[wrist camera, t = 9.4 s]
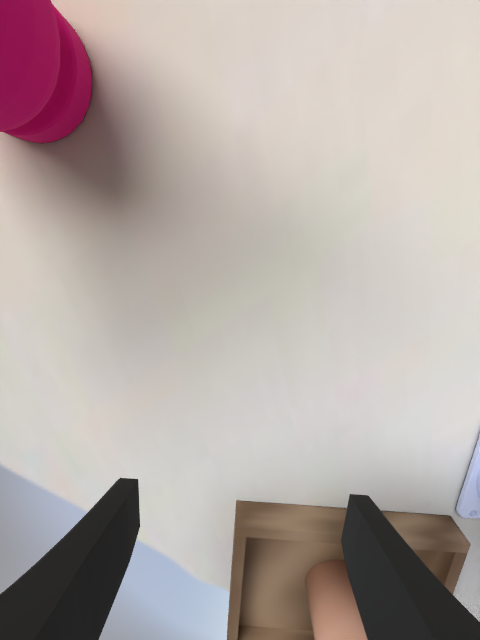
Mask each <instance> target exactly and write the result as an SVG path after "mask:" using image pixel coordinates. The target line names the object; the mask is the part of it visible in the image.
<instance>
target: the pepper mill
mask: <svg viewBox="0 0 480 640" xmlns="http://www.w3.org/2000/svg"><path fill="white" fill-rule="evenodd" d="M91 93H92V74H91V68H90V63H89V59H88V56H87V54H86V51H85V48H84V46H83V44H82V42H81V40H80V38H79V36H78V35H77V33H76V32H75V30H74V29H73V28H72V26H71V25H70V24H69V23H68V21H67V20H66V19H65V18H64V17H63V16H62V15H61V14H60V12H59V11H58V10H57V9H56V8H55V7H54V6H53V4H52V3H51V0H0V132H4V133H7V134H9V135H12V136H15V137H17V138H20V139H22V140H26V141H30V142H36V143H49V142H54V141H56V140H59V139H61V138H64V137H66V136H67V135H69V134H70V133H72V132H73V131H74V129H75V128H76V127H77V126H78V125H79V124H80V123H81V122H82V120H83V118H84V116H85V114H86V112H87V110H88V107H89V104H90V99H91Z"/></svg>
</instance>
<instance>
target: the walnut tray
mask: <svg viewBox="0 0 480 640" xmlns="http://www.w3.org/2000/svg"><path fill="white" fill-rule="evenodd" d="M346 512H347V508H333V507H319V506H305V505H291V504H277V503H263V502H249V501H236V514H235V528H234V542H233V556H232V570H231V584H230V599H229V614H228V629H227V640H315V639H314V633H313V627H312V622H311V616H310V610H309V604H308V598H307V593H306V587H305V578H306V575H307V573H308V572H309V571H310V570H311V569H312V568H313V567H314V566H316V565H318V564H320V563H322V562H326V561H331V560H339V561H345V559H344V554H343V549H342V544H341V537H342V532H343V527H344V522H345V517H346ZM381 512H382V513H383V515H384V516H385V517H386V518H387V519H388V521H389V522H390V523H391V524H392V526H393V527H394V528H395V529H396V531H397V532H398V533H399V534H400V535H401V537H402V538H403V539H404V540H405V542H406V543H407V544H408V545H409V546H410V547H411V549H412V550H413V551H414V552H415V553H416V554H417V556H418V557H419V558H420V559H421V560H422V561H423V563H424V564H425V565H426V566H427V567H428V568H429V569H430V571H431V572H432V573H433V574H434V575H435V576H436V577H437V578H438V580H439V581H440V582H441V583H442V584H443V585H444V586H445V587H446V588H447V589H448V590H449V591H450V592H451V594H452V595H453V592H454V589H455V586H456V584H457V581H458V578H459V575H460V572H461V569H462V567H463V564H464V561H465V558H466V555H467V552H468V550H469V547H470V543H469V542H468V540H467V539H466V537H465V536H464V535H463V533H462V532H461V530H460V529H459V527H458V526H457V525H456V523H455V522H454V520H453V519H452V517H451V516H445V515H431V514H417V513H403V512H389V511H381Z"/></svg>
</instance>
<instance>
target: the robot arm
mask: <svg viewBox="0 0 480 640" xmlns="http://www.w3.org/2000/svg"><path fill="white" fill-rule="evenodd" d="M456 512H457V513H458V514H459V516H460V517H463V518H475V519H480V435H479V438H478V441H477V445H476V448H475V451H474V454H473V457H472V460H471V463H470V466H469V469H468V472H467V476H466V479H465V482H464V485H463V488H462V491H461V494H460V497H459V500H458V503H457V507H456ZM139 527H140V515H139V490H138V479H127V478H120V479H119V480H117V481H116V482H115V484H114V485H113V486H112V487H111V488H110V489H109V490H108V491H107V492H106V494H105V495H104V496H103V497H102V498H101V499H100V500H99V501H98V502H97V503H96V504H95V505H94V507H93V508H92V509H91V510H90V511H89V512H88V513H87V514H86V515H85V516H84V517H83V518H82V519H81V520H80V521H79V522H78V523H77V524H76V525H75V526H74V527H73V528H72V529H71V530H70V532H68V533H67V534H66V535H65V536H64V538H62V539H61V540H60V541H59V542H58V543H57V544H56V545H55V546H54V547H53V548H52V549H51V550H50V551H49V552H48V553H46V554H45V555H44V557H42V558H41V559H40V560H39V561H38V562H37V563H36V564H35V565H34V566H33V567H31V568H30V569H29V570H28V571H27V572H26V573H25V574H24V575H22V576H21V577H20V578H19V579H18V580H17V581H16V582H14V583H13V584H12V585H11V586H10V587H9V588H7V589H6V590H5V591H4V592H2V593H1V594H0V640H98V639H99V637H100V635H101V632H102V629H103V627H104V624H105V622H106V619H107V617H108V615H109V612H110V610H111V607H112V604H113V602H114V599H115V597H116V595H117V592H118V589H119V587H120V585H121V582H122V579H123V577H124V574H125V572H126V569H127V567H128V564H129V562H130V558H131V555H132V552H133V548H134V545H135V542H136V538H137V535H138V531H139ZM341 544H342V549H343V554H344V559H345V564H346V569H347V573H348V578H349V581H350V584H351V588H352V591H353V594H354V597H355V601H356V604H357V607H358V610H359V614H360V617H361V620H362V623H363V626H364V630H365V633H366V636H367V639H368V640H480V622H479V621H478V620H477V619H476V618H475V617H474V616H473V615H472V614H471V613H470V612H469V611H468V610H467V609H466V608H465V607H464V606H463V605H462V604H461V603H460V602H459V601H458V600H457V599H456V598H455V597H454V596H453V595H452V594H451V592H450V591H449V590H448V589H447V588H446V587H445V586H444V585H443V584H442V583H441V582H440V581H439V580H438V578H437V577H436V576H435V575H434V574H433V573H432V572H431V571H430V569H429V568H428V567H427V566H426V565H425V564H424V563H423V561H422V560H421V559H420V558H419V557H418V556H417V554H416V553H415V552H414V551H413V550H412V549H411V547H410V546H409V545H408V544H407V543H406V542H405V540H404V539H403V538H402V537H401V535H400V534H399V533H398V532H397V531H396V529H395V528H394V527H393V526H392V524H391V523H390V522H389V521H388V519H387V518H386V517H385V516H384V515H383V513H382V512H381V511H380V510H379V508H378V507H377V506H376V505H375V503H374V502H373V501H372V500H371V498H370V497H369V496H367V495H353V494H350V497H349V502H348V507H347V512H346V517H345V522H344V527H343V532H342V537H341Z"/></svg>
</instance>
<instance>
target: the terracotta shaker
mask: <svg viewBox="0 0 480 640" xmlns="http://www.w3.org/2000/svg"><path fill="white" fill-rule="evenodd" d="M305 587H306V593H307V598H308V604H309V610H310V616H311V622H312V627H313V633H314V639H315V640H368V639H367V636H366V633H365V630H364V626H363V623H362V620H361V617H360V614H359V610H358V607H357V604H356V601H355V597H354V594H353V591H352V588H351V584H350V581H349V578H348V573H347V569H346V564H345V561H339V560H331V561H326V562H322V563H320V564H318V565H316V566H314V567H313V568H312V569H311V570H310V571H309V572H308V573H307V575H306V578H305Z"/></svg>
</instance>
